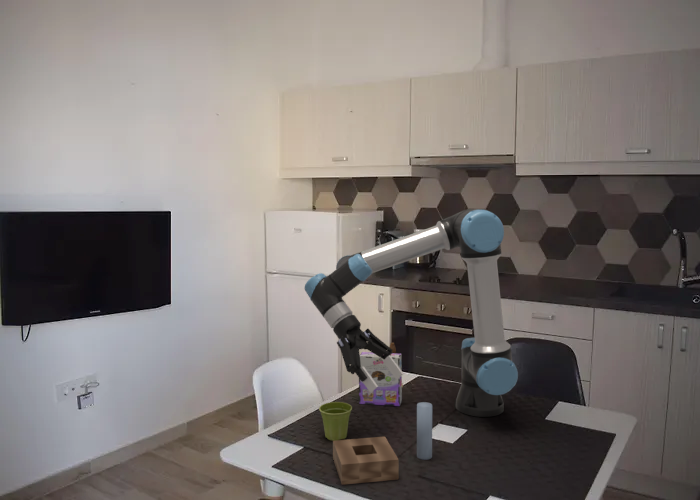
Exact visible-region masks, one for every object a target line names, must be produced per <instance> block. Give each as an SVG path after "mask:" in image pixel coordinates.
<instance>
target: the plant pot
mask: <svg viewBox="0 0 700 500" xmlns="http://www.w3.org/2000/svg"><path fill="white" fill-rule="evenodd" d="M318 410H319V412H320V416H321V418H322V422H323V423H322V424H323V429H324V435H325V436H324V437H325V438H327V440H329V441H332V442H333V441H336V440H346V438H347V436H348V428H349V422H350V421H349V420H350V416H351V412H352V410H353V406H352V405H351V404H349V403H347V402H341V401H330V402H326V403H323V404H321V405H320V406H319V407H318Z"/></svg>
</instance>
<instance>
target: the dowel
mask: <svg viewBox="0 0 700 500" xmlns="http://www.w3.org/2000/svg"><path fill="white" fill-rule="evenodd" d="M416 457H417V459H420V460H425V461H426V460H430V459H432V458H433V404H432V403H430V402H426V401H422V402H417V404H416Z"/></svg>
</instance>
